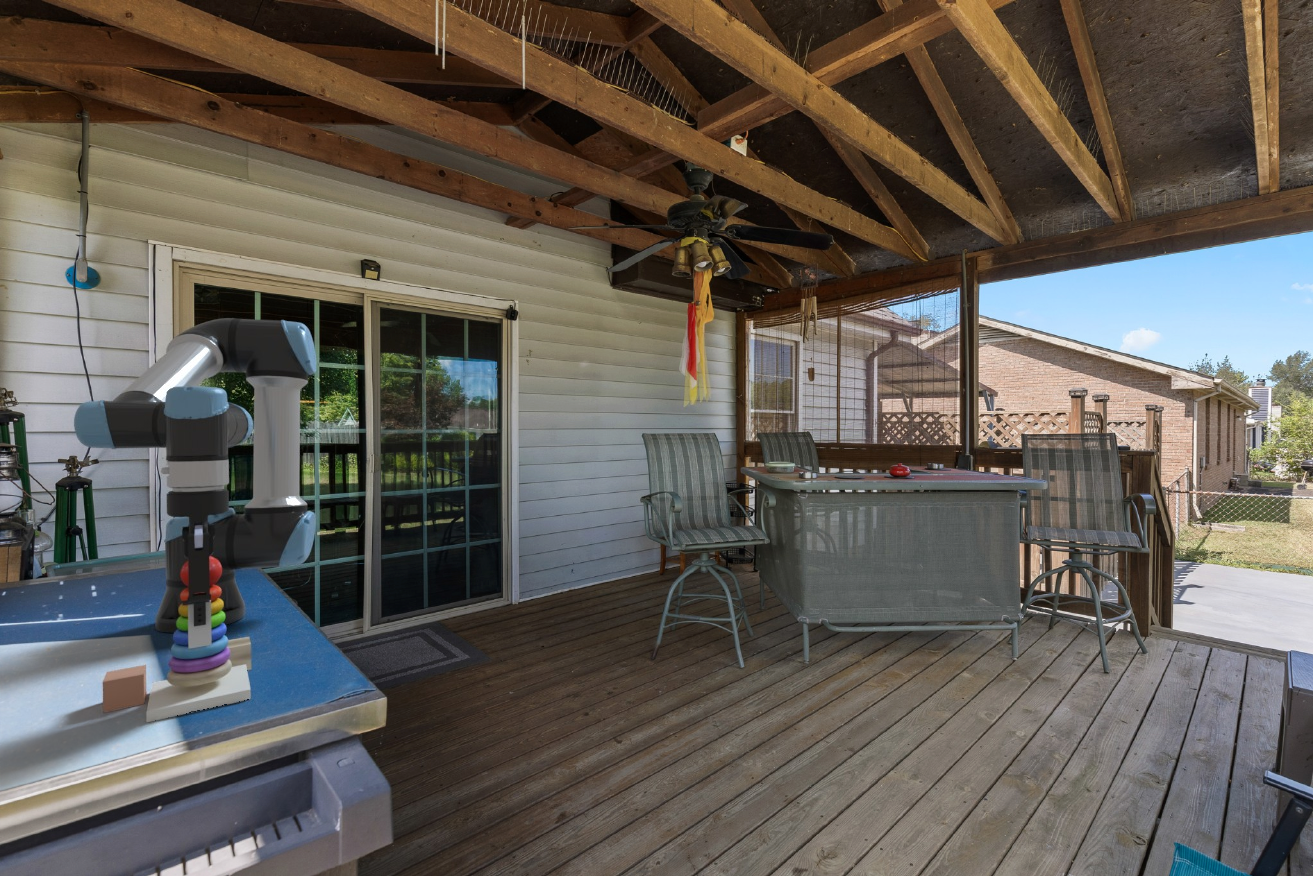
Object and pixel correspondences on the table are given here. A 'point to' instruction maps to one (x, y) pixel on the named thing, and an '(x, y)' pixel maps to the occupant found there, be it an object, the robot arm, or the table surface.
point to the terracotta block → (124, 688)
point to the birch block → (240, 652)
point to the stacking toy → (204, 660)
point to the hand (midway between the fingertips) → (200, 638)
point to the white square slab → (197, 695)
